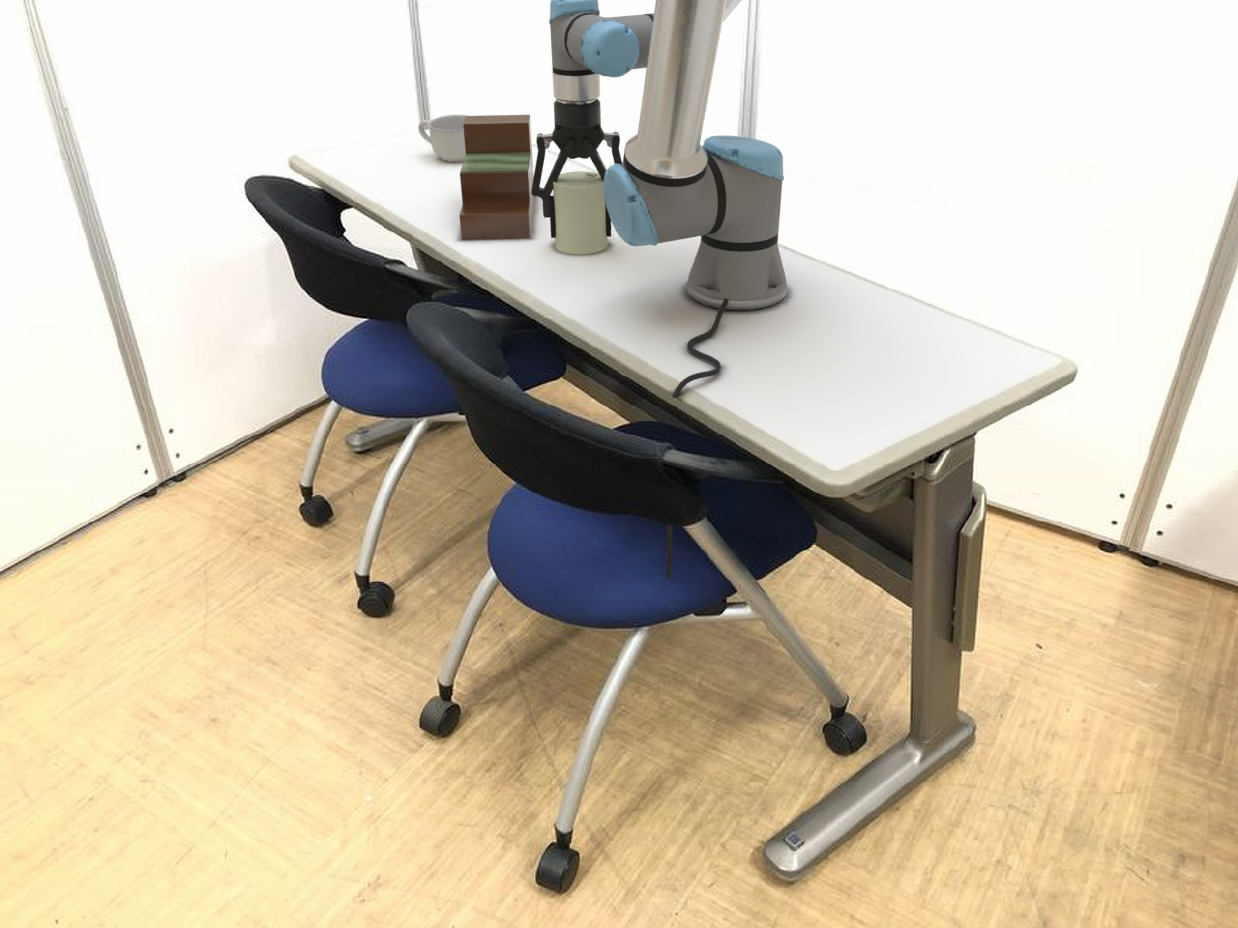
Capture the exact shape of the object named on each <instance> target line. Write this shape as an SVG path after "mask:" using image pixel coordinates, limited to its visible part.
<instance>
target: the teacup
mask: <svg viewBox="0 0 1238 928" xmlns="http://www.w3.org/2000/svg"><path fill="white" fill-rule="evenodd" d="M466 116H470V115H467V114H447V115H442V116H438V117H435V118H433V119H423V120H421V121H420V122H419V124H418V132H419V134H420V137H422V138H423V139H424V140H425V142H427V143H429V145H431V148H432V151H433V153H434V154H435V155H436V156H437V157H438V158H440V159H441V160H442V161H444V162H449V163H461V162H462V163H463V162H464V159H465V155H466V151H465V140H464V128H463V123H464V120H465V118H466ZM425 126H428V128H429V134H427V132H426V131H425Z"/></svg>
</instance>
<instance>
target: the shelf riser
mask: <svg viewBox="0 0 1238 928" xmlns="http://www.w3.org/2000/svg"><path fill="white" fill-rule="evenodd" d="M531 123H532V122H531V114H498V115H497V114H496V115H488V114H487V115H469V116H466V118H465V120H464V123H463V128H464V140H465V151H466V155H465V159H464V161H462V165H461V168H460V172H459V181H460V191H461V201H462V205H461V209H460V212H459V224H460V235H461V241H475V240H477V241H478V240H517V239H518V240H521V239H524V240H525V239H531V235H532V234H531V233H532V224H533V214H534V203H535V196H533V195H532V194H531V190H532V184H533V178H534V161H533V142H532V140H533V139H532V124H531Z"/></svg>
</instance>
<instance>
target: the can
mask: <svg viewBox="0 0 1238 928" xmlns="http://www.w3.org/2000/svg"><path fill="white" fill-rule="evenodd" d="M553 186H554V188H553V190H552V192H553V193H552V194H553V195H552V196H554V214H555V238H554V239H555V240H554V248H555V249H556V250H557V251H559V252H560V253H564V254H567V255H577V256H578V255H580V256H581V255H582V256H583V255H590V254H591V255H593V254H597V253H601V252H603V251H604V250H605V249H607V248H608V246H609V241H608V237H607V218H606V202H605V196H604V181H602V179H601V177H600V175H599V173H598V172H593V171H584V170H583V171H581V170H580V171H578V170H577V171H569V172H562V173H560V175H559V177H558V179H557V182H553Z"/></svg>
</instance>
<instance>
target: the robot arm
mask: <svg viewBox="0 0 1238 928" xmlns="http://www.w3.org/2000/svg"><path fill="white" fill-rule="evenodd" d="M742 1H743V0H655V3H654V10H653V11H654V12H653V13H643V14H632V15H631V14H630V15H621V16H611V17H606V16H605V17H604V16H600V14H601V10H600V7H599V0H550V1H549V2H550V4H549V20H548V23H549V27H550V28H549V29H550V47H551V67H552V69H551V70H552V72H551V73H552V74H551V75H552V96H553V98H554V99H555V101H554V102H553V119H554V128H553V130H552V133H546V134H543V133H542V132H540V133H538V134H537V135H536V139H535V141H536V147H537V155H536V161H535V167H534V171H533V177H534V178H533V184H532V190H531V194H532V195H533V196H534V197H538V198H540V199H541V201H542V215H543V218H549V222H550V223H549V226H550V238H551V239H555V214H554V196H553V195H552V194H553V193H552V192H553V188H554V186H553V182H557V179H558V177H559V175H560V174H562V173H561V172H562V170H563V168H564V166H565V164H566V163H567V160H568V159H569V160H575V159H578V158H579V159H583V160H588V159H590V161H591V163H592V164H593V166H594V167H595V170H596V171H597V173H599V175H600V177H601V179H602V181H604V196H605V202H606V218H607V238H608V237H609V238H610V237H612V226H613V228H614V230H615V232H616V233H617V235H618V237H619V238H620V239H621V240H622V242H624V243H625V244H627V245H628V246H631V247H644V246H652V247H653V246H657V245H658V244H662V243H669V242H674V241H680V240H685V239H686V240H687V239H692V238H698V237H700V243H699V247H698V249H697V251H696V255H695V257H694V259H693V263H692V266H691V268H690V270H689V274H688V278H687V289H686V290H687V293H688V295H689V296H690V298H691V299H693V300H694V301H696V302H698V303H699V304H702V305H705V306H707V307H709V308H710V307H711V308H714V309H718V311H717V313H716V316H715V319H714V321H713V324H712V325H711V328H710V329H708V330H707V331H706V332H704V333H702V334H699V335H697V336H694V337H692V338H691V339H689V340H688V342H687V343H686V349H687V350H688V352H689V353H690V354H692V355H694V356H695V357H698V358H700V359H703V360H705V361H707V362H709V363H711V364H713V365H714V368H713V369H710V370H706V371H701V372H697V373H693V374H690V375H688V376H687V377H685V378H683V379H682V380H681V381H680V382H679V383H678V384H677V386H676V387H675V389H674V391H673V394H672V398H673V399H677V398H679V396H680V393H681V392H682V390H683V389H684V387H685V386H687V385H688V384H689V383H691V382H693V381H696V380H698V379H703V378H709V377H713V376H715V375H718V373H720V371H721V369H722V365H721V363H720V361H719V360H718V359H716V358H715V357H713V356H711V355H709V354H707V353H705V352H702V351H699V350H698V349H696V348H695V347H694V346H693V345H694V344H696V343H697V342H698V343H699V342H700V341H704V340H705V339H707V338H709V337H711V336H712V335H714V334H715V332H716V331H717V330H718V328H719V325H720V322H721V319H722V316H723V314H724V312H725V310H728V311H752V310H759V309H764V308H768V307H771V306H774V305H777V304H778V303H780V302H781V301H782V300H784V299H785V298H786V295H787V287H788V286H787V285H788V283H787V276H786V272H785V268H784V264H783V260H782V256H781V253H780V249H779V244H778V243H779V231H780V218H781V217H780V216H781V204H782V203H781V202H782V193H783V192H782V190H783V181H784V180H785V175H784V156H783V153H782V151H781V150H780V149H779V148H778V147H777V146H775V145H774V144H771V143H769V142H767V141H765V140H760V139H756V138H751V137H745V136H739V135H724V134H723V135H712V136H709V137H706V138H705V139H704V142H703V144H701V142H702V141H701V140H702V135H703V129H704V124H705V119H706V113H707V109H708V102H709V98H710V92H711V87H712V80H713V74H714V70H715V66H716V65H715V64H716V61H717V60H716V59H717V53H718V48H719V43H720V37H721V31H722V27H723V23H724V22H725V21H726V20H727V19H728V17H730V16H731V14H733V12H734V11H735V9H736V8H737V7H738V6H739V5H740V3H742ZM639 69H646V70H645V78H644V83H643V91H642V99H641V107H640V115H639V122H638V129H637V134H635V135H633V136H631V137H630V138H629V139H628V140H627V141H626V143H625V145H624V150H623V158H622V156H621V151H620V143H621V135H620V133H619V132H618V131H613V132H604V130H603V128H602V117H601V116H602V114H601V110H602V109H601V101H600V99H599V97H601V77H608V78H620V77H623V76H625V75H626V74H628V73H630V71H632V70H639ZM603 141H605V143H606V145H607V147H608V148H611V155H612V159H613V163H614V164H612V165H610V166H609V167H608V168H607V167H606V165H605V163H604V162H603V160H602V158H601V155H600V153H599V151H598V150H597V149H598V148H599V147H600V145H601V144H602V142H603ZM551 142H553V143H554V144H555V146H556V147H557V148H558V149H559V153H558V155H557V158H556V160H555V162H554V165H553V167H552V169H551V171H550V173H549V176H548V177H547V180H546V183H545V185H544V187H541V181H542V175H543V170H544V163H545V158H546V150H547V149H550V145H551ZM672 561H673V525H672V526H670V525H667V524H666V564H665V565H666V567H665V568H666V569H665V570H666V572H665V578H666V579H667V580H670V579H672V566H673V565H672V564H673V562H672Z"/></svg>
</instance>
